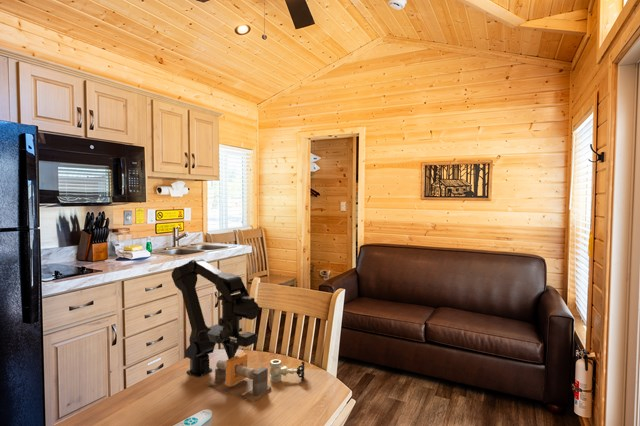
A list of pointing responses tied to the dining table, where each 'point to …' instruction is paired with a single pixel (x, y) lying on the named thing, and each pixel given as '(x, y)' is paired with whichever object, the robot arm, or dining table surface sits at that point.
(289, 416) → the dining table surface
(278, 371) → the valve
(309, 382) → the dining table surface
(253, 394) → the pipe stand
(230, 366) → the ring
